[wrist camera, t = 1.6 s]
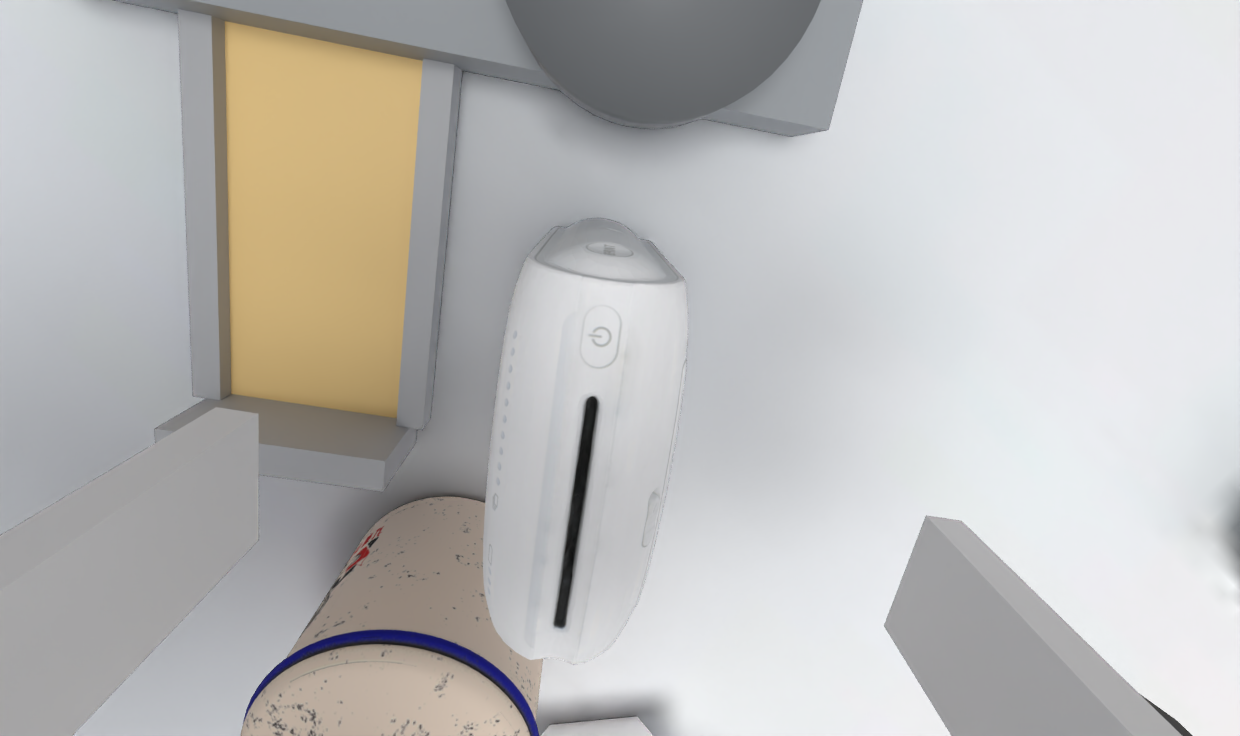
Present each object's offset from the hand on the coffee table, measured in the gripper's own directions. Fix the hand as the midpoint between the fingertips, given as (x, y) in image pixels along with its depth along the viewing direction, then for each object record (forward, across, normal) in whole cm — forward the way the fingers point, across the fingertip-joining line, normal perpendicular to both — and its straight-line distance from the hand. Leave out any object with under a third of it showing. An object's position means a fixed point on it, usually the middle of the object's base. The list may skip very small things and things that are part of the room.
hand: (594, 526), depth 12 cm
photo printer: (+13, -1, 0) cm, 13 cm away
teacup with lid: (+13, -5, -13) cm, 19 cm away
